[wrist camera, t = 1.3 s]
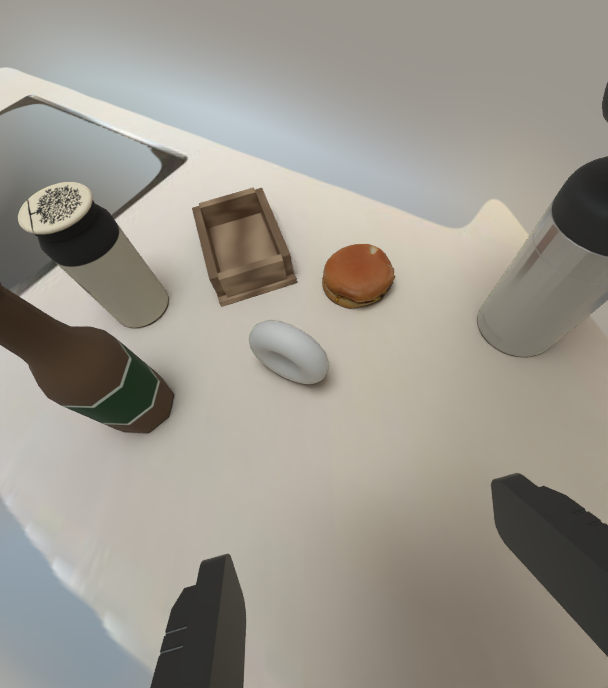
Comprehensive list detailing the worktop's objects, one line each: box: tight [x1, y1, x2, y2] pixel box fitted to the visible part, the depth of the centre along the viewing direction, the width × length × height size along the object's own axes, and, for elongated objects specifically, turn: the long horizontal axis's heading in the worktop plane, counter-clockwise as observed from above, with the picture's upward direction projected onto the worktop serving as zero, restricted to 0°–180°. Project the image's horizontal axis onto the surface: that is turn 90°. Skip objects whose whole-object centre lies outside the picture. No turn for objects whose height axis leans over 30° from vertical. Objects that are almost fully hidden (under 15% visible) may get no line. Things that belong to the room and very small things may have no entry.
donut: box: [249, 320, 329, 384], centre depth 38 cm, size 10×3×10 cm, turn 63°
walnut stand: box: [192, 188, 297, 307], centre depth 51 cm, size 12×17×5 cm
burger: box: [322, 244, 395, 308], centre depth 47 cm, size 10×9×5 cm
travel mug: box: [18, 182, 168, 327], centre depth 42 cm, size 8×8×18 cm
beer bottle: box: [0, 283, 174, 433], centre depth 32 cm, size 8×8×24 cm
